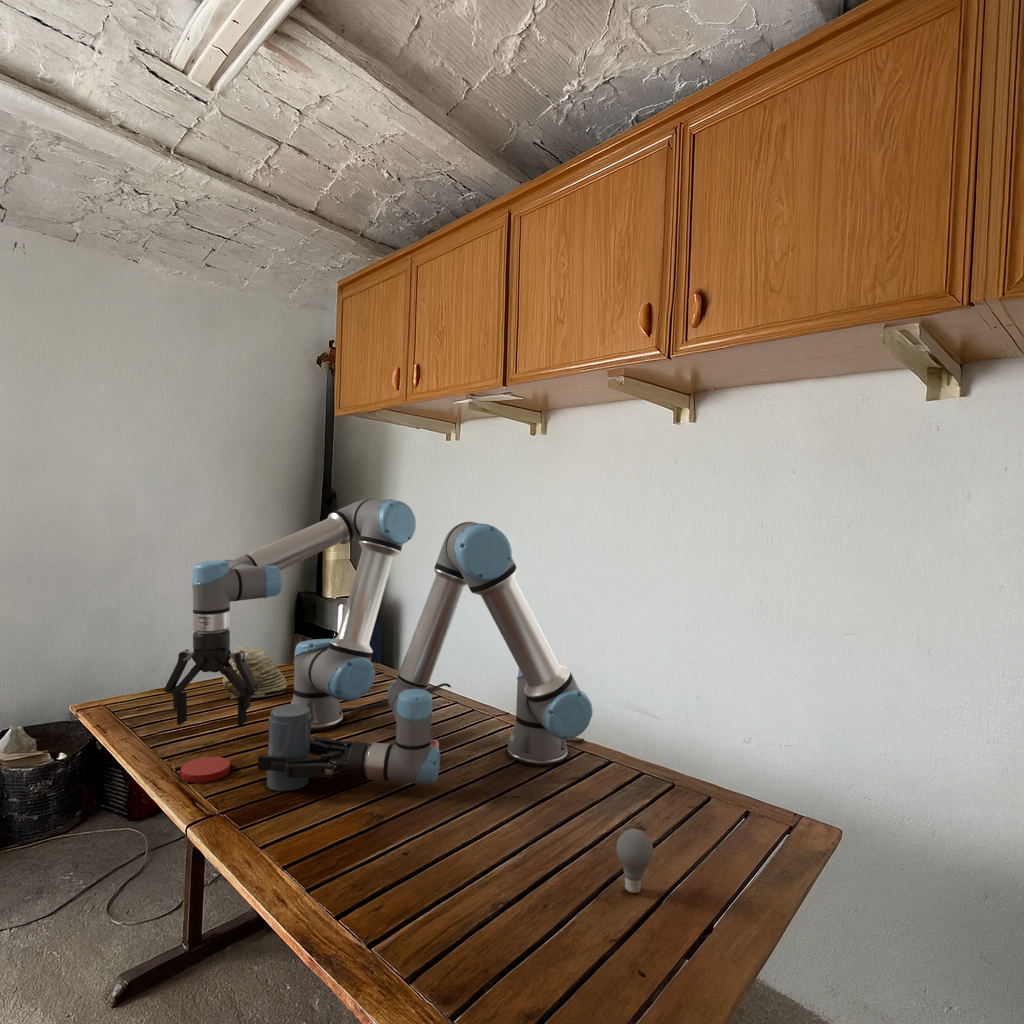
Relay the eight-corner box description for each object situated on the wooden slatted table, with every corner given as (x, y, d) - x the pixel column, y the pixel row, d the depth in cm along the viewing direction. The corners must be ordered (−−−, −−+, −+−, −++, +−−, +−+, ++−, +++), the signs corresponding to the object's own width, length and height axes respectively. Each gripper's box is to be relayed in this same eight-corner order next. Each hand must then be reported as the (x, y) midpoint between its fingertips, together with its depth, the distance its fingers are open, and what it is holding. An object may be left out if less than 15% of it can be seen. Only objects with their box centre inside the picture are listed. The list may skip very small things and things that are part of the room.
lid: (239, 771, 144) (239, 764, 144) (197, 787, 136) (197, 779, 136) (213, 759, 150) (213, 753, 150) (170, 774, 141) (171, 767, 141)
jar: (288, 794, 134) (291, 719, 134) (257, 785, 138) (260, 712, 137) (317, 778, 142) (320, 707, 142) (287, 770, 146) (289, 701, 145)
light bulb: (610, 879, 108) (613, 822, 108) (644, 879, 109) (647, 822, 109) (619, 902, 102) (622, 840, 102) (655, 901, 103) (658, 840, 103)
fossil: (218, 695, 195) (220, 647, 195) (278, 685, 208) (279, 640, 207) (228, 703, 189) (230, 653, 188) (289, 692, 201) (290, 645, 201)
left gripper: (146, 633, 138) (147, 728, 139) (260, 635, 138) (260, 730, 139) (165, 625, 146) (165, 716, 147) (273, 627, 146) (273, 717, 147)
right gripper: (352, 801, 128) (244, 792, 129) (381, 758, 149) (288, 751, 151) (353, 764, 128) (245, 756, 129) (382, 726, 149) (290, 720, 151)
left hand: (212, 723), depth 143 cm, fingers open, 13 cm apart
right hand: (268, 753), depth 140 cm, fingers closed on jar, 9 cm apart
